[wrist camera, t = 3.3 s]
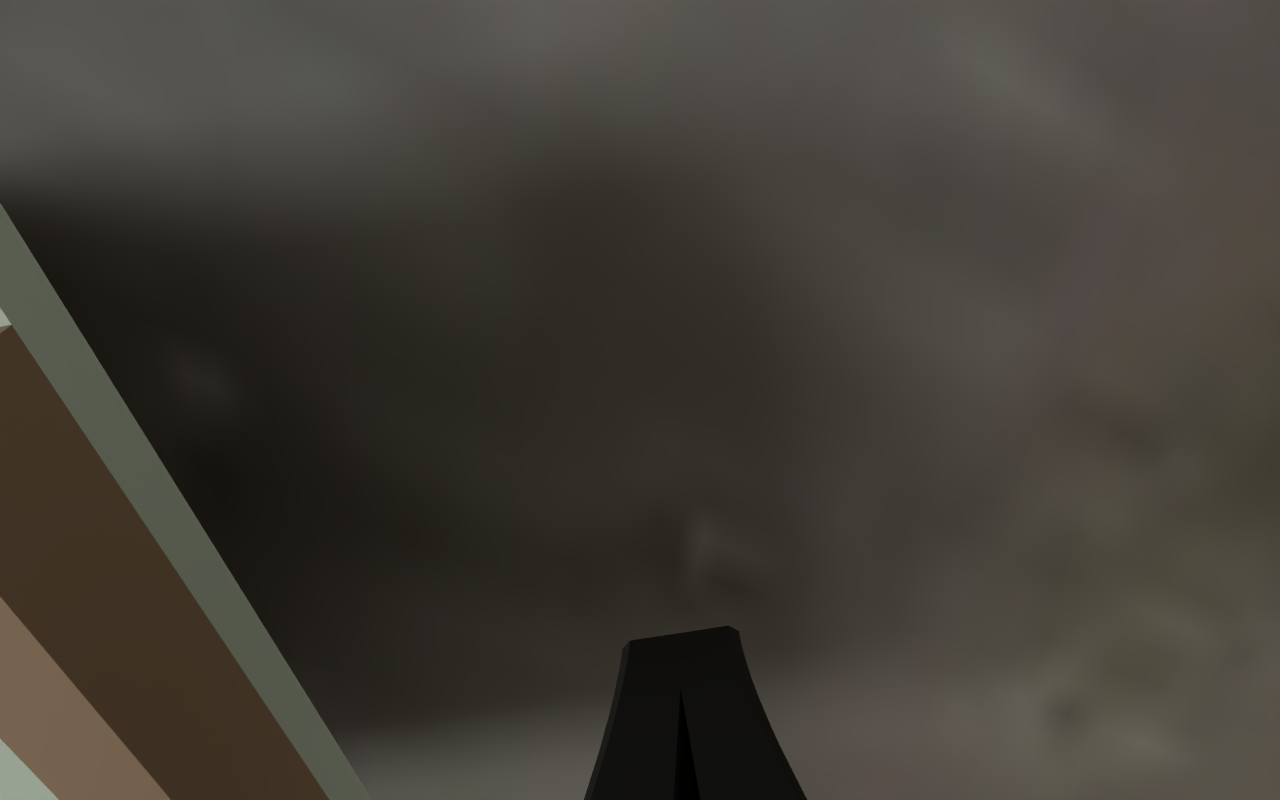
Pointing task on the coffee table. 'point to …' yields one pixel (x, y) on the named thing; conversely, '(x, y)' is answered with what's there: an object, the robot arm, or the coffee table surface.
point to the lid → (124, 600)
